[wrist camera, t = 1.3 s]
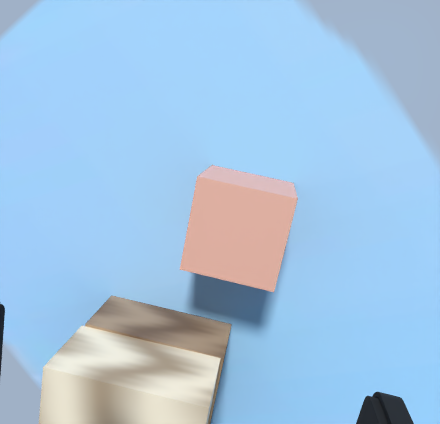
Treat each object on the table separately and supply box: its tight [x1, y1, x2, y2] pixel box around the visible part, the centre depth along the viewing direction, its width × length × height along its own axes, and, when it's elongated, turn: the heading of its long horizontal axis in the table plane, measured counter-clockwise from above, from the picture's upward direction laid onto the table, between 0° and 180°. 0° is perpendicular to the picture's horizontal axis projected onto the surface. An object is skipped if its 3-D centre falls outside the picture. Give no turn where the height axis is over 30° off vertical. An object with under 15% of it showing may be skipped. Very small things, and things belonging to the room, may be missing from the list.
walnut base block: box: [85, 296, 231, 424], centre depth 32 cm, size 10×10×5 cm
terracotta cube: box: [180, 165, 298, 292], centre depth 28 cm, size 6×6×6 cm
